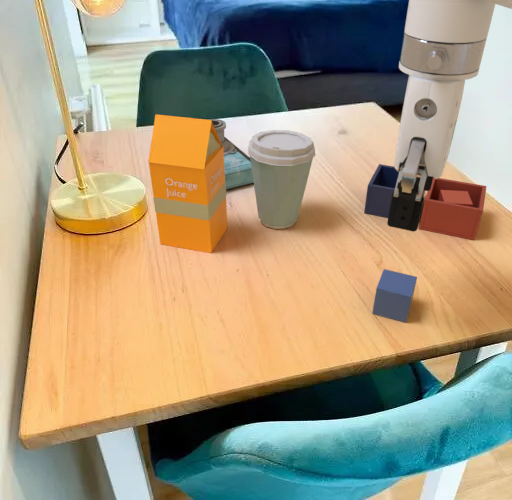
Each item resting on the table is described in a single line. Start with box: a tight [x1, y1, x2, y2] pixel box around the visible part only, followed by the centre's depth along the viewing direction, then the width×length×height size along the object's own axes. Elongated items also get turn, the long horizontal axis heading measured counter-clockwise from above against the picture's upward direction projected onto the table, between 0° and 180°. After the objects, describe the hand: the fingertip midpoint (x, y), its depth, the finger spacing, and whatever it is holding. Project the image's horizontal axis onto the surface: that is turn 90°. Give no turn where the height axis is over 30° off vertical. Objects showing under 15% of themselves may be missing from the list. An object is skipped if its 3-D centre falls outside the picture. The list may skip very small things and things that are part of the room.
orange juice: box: [147, 113, 229, 254], centre depth 77 cm, size 8×9×20 cm
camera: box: [209, 118, 254, 190], centre depth 98 cm, size 16×10×10 cm
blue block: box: [372, 268, 418, 323], centre depth 66 cm, size 4×4×4 cm
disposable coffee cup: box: [247, 129, 316, 230], centre depth 82 cm, size 11×11×15 cm
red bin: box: [418, 177, 487, 241], centre depth 84 cm, size 9×9×6 cm
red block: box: [438, 190, 473, 207], centre depth 83 cm, size 4×4×4 cm
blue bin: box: [363, 163, 426, 219], centre depth 88 cm, size 9×9×6 cm
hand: (409, 206), depth 59 cm, fingers open, 9 cm apart
